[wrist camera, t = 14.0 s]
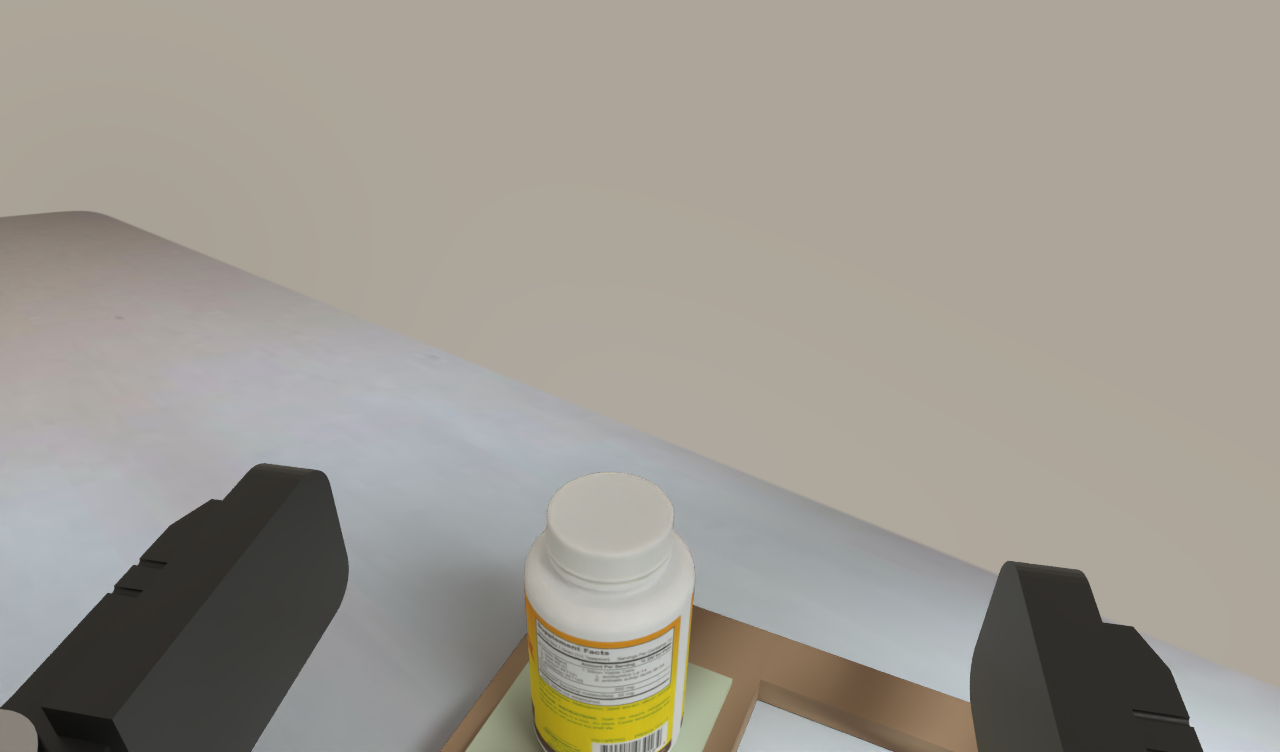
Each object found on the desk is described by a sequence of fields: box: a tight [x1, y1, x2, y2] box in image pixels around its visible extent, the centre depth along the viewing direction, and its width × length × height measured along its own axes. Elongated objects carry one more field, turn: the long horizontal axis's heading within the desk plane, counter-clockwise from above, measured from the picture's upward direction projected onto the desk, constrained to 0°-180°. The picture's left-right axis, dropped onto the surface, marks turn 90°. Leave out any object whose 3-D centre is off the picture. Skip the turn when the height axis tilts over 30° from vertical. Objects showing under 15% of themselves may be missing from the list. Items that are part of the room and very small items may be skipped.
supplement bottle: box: [524, 472, 695, 752], centre depth 30 cm, size 6×6×10 cm
